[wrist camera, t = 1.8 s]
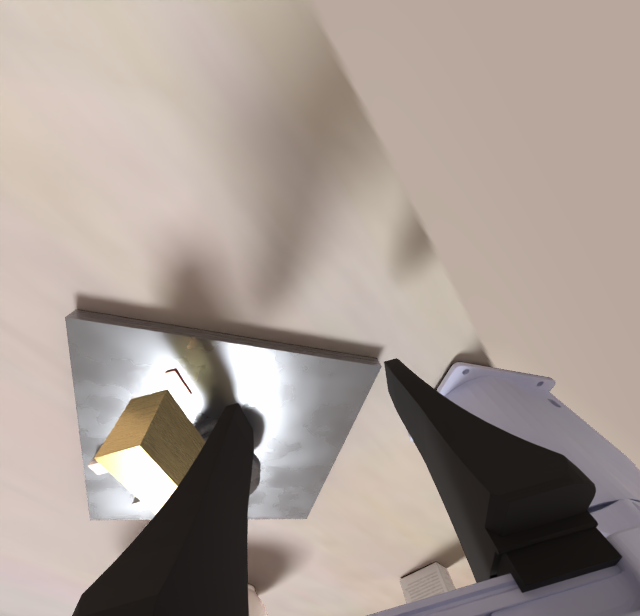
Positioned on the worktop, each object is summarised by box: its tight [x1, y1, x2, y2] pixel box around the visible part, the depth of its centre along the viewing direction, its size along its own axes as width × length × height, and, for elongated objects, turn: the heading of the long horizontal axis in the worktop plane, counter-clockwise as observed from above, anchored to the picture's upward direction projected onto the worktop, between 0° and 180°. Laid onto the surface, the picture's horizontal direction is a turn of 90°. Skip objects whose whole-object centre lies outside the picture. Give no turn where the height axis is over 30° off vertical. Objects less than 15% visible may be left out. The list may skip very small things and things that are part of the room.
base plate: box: [65, 310, 381, 520], centre depth 19 cm, size 17×18×2 cm
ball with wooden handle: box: [94, 389, 261, 514], centre depth 15 cm, size 11×5×4 cm, turn 13°
